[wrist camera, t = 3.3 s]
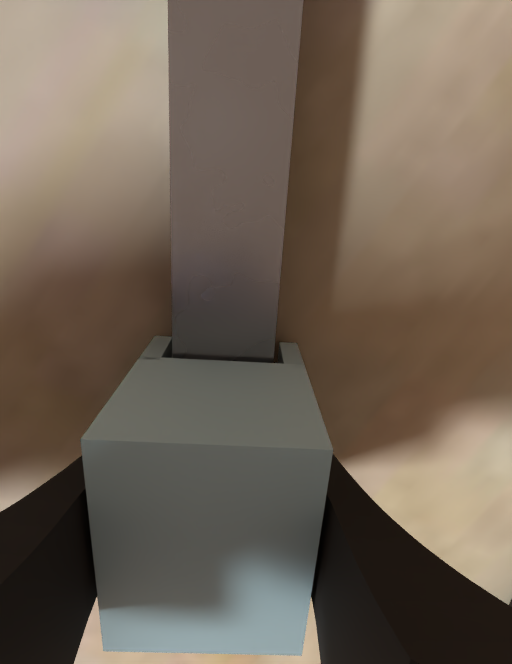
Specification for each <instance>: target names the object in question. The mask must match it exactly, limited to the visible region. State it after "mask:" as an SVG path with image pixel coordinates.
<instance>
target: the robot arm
mask: <svg viewBox="0 0 512 664" xmlns="http://www.w3.org/2000/svg"><path fill="white" fill-rule="evenodd" d="M96 597H97V588H96V578H95V569H94V560H93V551H92V542H91V533H90V523H89V514H88V505H87V496H86V487H85V478H84V468H83V459H82V456H81V457H79V458H78V459H77V460H76V461H74V462H73V463H72V464H70V465H69V466H68V467H67V468H65V469H64V470H63V471H61V472H60V473H58V474H57V475H56V476H54V477H53V478H51V479H50V480H48V481H47V482H46V483H44V484H43V485H41V486H40V487H39V488H37V489H36V490H34V491H33V492H31V493H30V494H29V495H27V496H25V497H24V498H22V499H21V500H19V501H18V502H16V503H15V504H13V505H11V506H10V507H8V508H6V509H5V510H3V511H1V512H0V664H74V661H75V658H76V654H77V651H78V648H79V645H80V642H81V639H82V636H83V633H84V630H85V627H86V624H87V621H88V618H89V615H90V613H91V610H92V607H93V605H94V602H95V600H96ZM311 597H312V602H313V608H314V613H315V619H316V626H317V634H318V642H319V651H320V659H321V664H512V607H511V606H509V605H507V604H506V603H504V602H502V601H501V600H499V599H498V598H496V597H495V596H493V595H492V594H490V593H489V592H487V591H486V590H484V589H483V588H481V587H480V586H478V585H476V584H475V583H473V582H472V581H470V580H469V579H468V578H466V577H465V576H463V575H462V574H460V573H459V572H458V571H456V570H455V569H453V568H452V567H451V566H449V565H448V564H447V563H445V562H444V561H443V560H441V559H440V558H439V557H437V556H436V555H435V554H433V553H432V552H431V551H429V550H428V549H427V548H426V547H424V546H423V545H422V544H421V543H419V542H418V541H417V540H416V539H414V538H413V537H412V536H411V535H410V534H409V533H408V532H406V531H405V530H404V529H403V528H402V527H401V526H400V525H398V524H397V523H396V522H395V521H394V520H393V519H392V518H391V517H390V516H389V515H387V514H386V513H385V512H384V511H383V510H382V509H381V508H380V507H379V506H378V505H377V504H376V503H375V502H374V501H373V500H372V499H371V498H370V497H369V496H368V494H367V493H366V492H365V491H364V490H363V489H362V488H361V487H360V486H359V484H358V483H357V482H356V481H355V480H354V479H353V478H352V476H351V475H350V474H349V473H348V472H347V471H346V469H345V468H344V467H343V466H342V465H341V463H340V462H339V461H338V460H337V458H336V457H335V456H334V455H332V462H331V468H330V475H329V481H328V488H327V494H326V501H325V507H324V514H323V520H322V527H321V533H320V540H319V546H318V553H317V559H316V566H315V572H314V579H313V585H312V592H311Z"/></svg>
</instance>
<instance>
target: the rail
mask: <svg viewBox="0 0 512 664" xmlns="http://www.w3.org/2000/svg"><path fill="white" fill-rule="evenodd" d="M303 1H304V0H168V48H169V126H170V203H171V281H172V358H180V359H200V360H220V361H240V362H260V363H273V360H274V348H275V336H276V324H277V312H278V300H279V288H280V276H281V264H282V252H283V240H284V228H285V217H286V205H287V193H288V181H289V169H290V157H291V145H292V133H293V121H294V109H295V97H296V85H297V73H298V61H299V49H300V37H301V25H302V13H303Z"/></svg>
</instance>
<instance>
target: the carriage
mask: <svg viewBox="0 0 512 664" xmlns="http://www.w3.org/2000/svg"><path fill="white" fill-rule="evenodd" d="M80 441H81V450H82V459H83V468H84V478H85V487H86V496H87V505H88V514H89V523H90V533H91V542H92V551H93V560H94V569H95V578H96V588H97V597H98V606H99V615H100V624H101V633H102V643H103V651H116V652H162V653H207V654H253V655H298V656H302V651H303V644H304V638H305V631H306V624H307V618H308V611H309V605H310V598H311V592H312V585H313V579H314V572H315V566H316V559H317V553H318V546H319V540H320V533H321V527H322V520H323V514H324V507H325V501H326V494H327V488H328V481H329V475H330V468H331V462H332V455H333V447H332V444H331V442H330V439H329V436H328V433H327V430H326V427H325V424H324V421H323V418H322V415H321V412H320V409H319V406H318V403H317V400H316V397H315V395H314V392H313V389H312V386H311V383H310V380H309V377H308V374H307V371H306V368H305V365H304V362H303V359H302V356H301V353H300V350H299V348H298V345H297V343H287V342H279V353H278V363H260V362H240V361H220V360H200V359H180V358H172V337H171V336H154V338H153V339H152V340H151V342H150V343H149V345H148V346H147V347H146V349H145V350H144V351H143V353H142V354H141V356H140V357H139V358H138V360H137V361H136V363H135V364H134V365H133V367H132V368H131V370H130V371H129V372H128V374H127V375H126V376H125V378H124V379H123V381H122V382H121V383H120V385H119V386H118V388H117V389H116V390H115V392H114V393H113V395H112V396H111V397H110V399H109V400H108V402H107V403H106V404H105V406H104V407H103V408H102V410H101V411H100V413H99V414H98V415H97V417H96V418H95V420H94V421H93V422H92V424H91V425H90V427H89V428H88V429H87V431H86V432H85V433H84V435H83V436H82V438H81V439H80Z"/></svg>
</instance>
